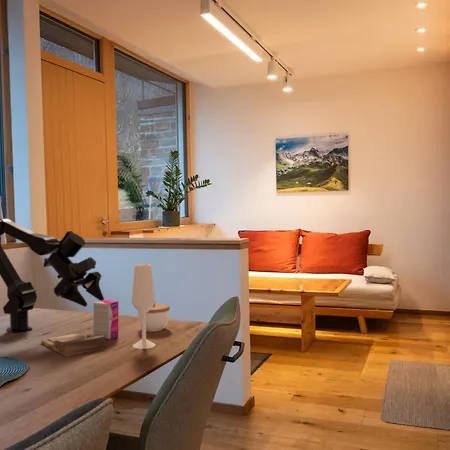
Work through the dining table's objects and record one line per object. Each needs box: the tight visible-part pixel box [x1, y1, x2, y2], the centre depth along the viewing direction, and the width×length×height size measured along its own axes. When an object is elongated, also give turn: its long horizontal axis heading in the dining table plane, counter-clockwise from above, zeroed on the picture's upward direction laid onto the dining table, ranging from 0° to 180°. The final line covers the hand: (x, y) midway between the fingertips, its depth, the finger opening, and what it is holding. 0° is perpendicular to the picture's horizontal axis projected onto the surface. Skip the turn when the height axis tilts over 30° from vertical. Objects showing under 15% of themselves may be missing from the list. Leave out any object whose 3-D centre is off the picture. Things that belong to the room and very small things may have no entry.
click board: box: [40, 333, 106, 357], centre depth 155 cm, size 18×12×4 cm, turn 40°
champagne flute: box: [131, 263, 156, 350], centre depth 154 cm, size 7×7×24 cm
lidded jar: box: [137, 302, 171, 333], centre depth 174 cm, size 11×11×9 cm
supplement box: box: [92, 299, 119, 341], centre depth 164 cm, size 6×6×12 cm
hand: (94, 302), depth 165 cm, fingers open, 9 cm apart
